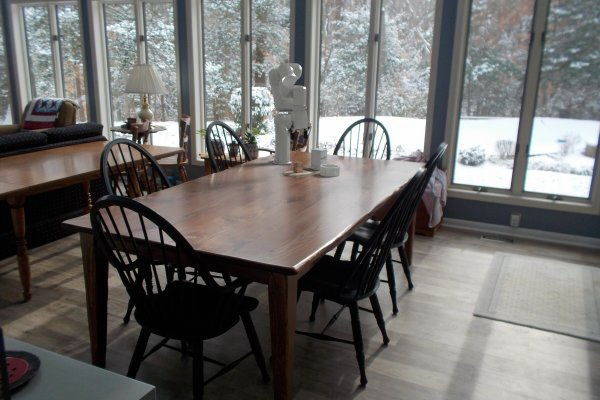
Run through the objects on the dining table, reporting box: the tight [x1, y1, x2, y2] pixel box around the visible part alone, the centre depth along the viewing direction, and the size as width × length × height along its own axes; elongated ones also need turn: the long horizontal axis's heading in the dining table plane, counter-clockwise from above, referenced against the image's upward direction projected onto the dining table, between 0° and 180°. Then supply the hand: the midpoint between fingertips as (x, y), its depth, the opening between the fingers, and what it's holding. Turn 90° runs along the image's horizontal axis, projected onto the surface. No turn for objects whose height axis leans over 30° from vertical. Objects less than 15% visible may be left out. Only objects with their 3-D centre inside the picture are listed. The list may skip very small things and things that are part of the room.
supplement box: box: [310, 147, 328, 171], centre depth 303 cm, size 7×7×13 cm
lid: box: [281, 160, 315, 178], centre depth 288 cm, size 13×13×7 cm
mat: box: [280, 172, 315, 179], centre depth 289 cm, size 14×14×1 cm
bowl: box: [319, 163, 341, 178], centre depth 288 cm, size 11×11×6 cm
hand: (298, 139), depth 284 cm, fingers open, 9 cm apart
